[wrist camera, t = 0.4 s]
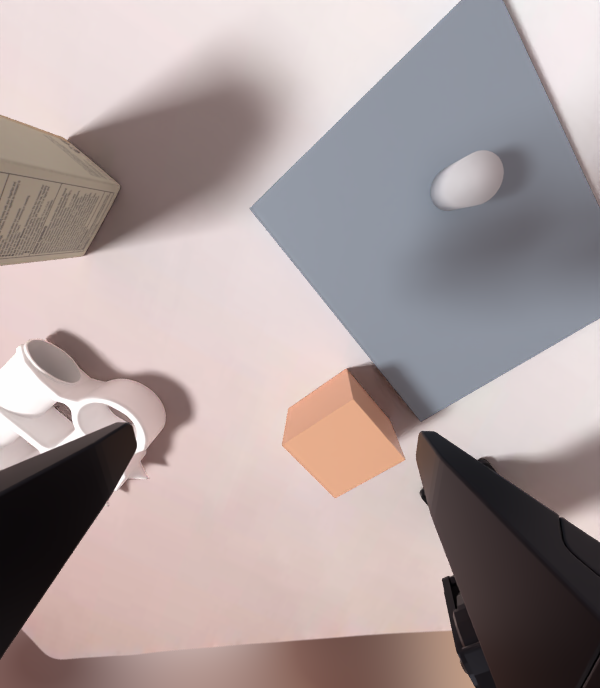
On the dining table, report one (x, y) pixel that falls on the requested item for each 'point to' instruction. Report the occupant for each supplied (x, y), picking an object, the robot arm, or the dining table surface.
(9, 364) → the white egg tray
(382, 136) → the base plate
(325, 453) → the orange block
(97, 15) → the dining table surface
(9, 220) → the skincare box
